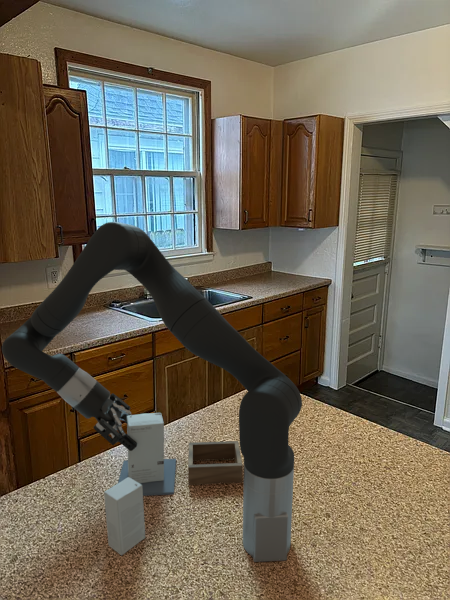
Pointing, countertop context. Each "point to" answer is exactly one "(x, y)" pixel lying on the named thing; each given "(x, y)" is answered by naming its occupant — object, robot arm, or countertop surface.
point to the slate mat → (157, 486)
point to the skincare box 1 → (124, 515)
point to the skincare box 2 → (146, 447)
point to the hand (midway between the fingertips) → (137, 437)
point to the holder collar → (214, 471)
